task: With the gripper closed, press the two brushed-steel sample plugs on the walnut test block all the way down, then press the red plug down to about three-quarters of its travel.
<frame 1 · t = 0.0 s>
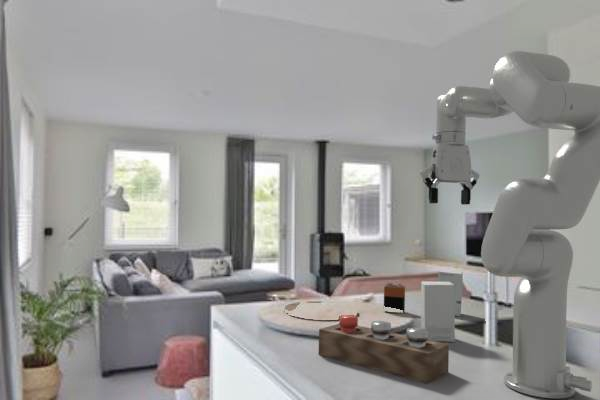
hand: (449, 203, 127), 37 cm above the counter, tool pointing down, fingers open, 9 cm apart
test block: (380, 362, 108), on the counter
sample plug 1: (416, 342, 102), point 6 cm above the counter, slide at 0.0 cm
skincare box: (437, 339, 131), on the counter
battery: (394, 312, 167), on the counter
trivet: (320, 314, 163), on the counter
red plug: (348, 327, 114), point 6 cm above the counter, slide at 0.0 cm
skincare box 2: (449, 314, 166), on the counter
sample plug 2: (380, 334, 108), point 6 cm above the counter, slide at 0.0 cm
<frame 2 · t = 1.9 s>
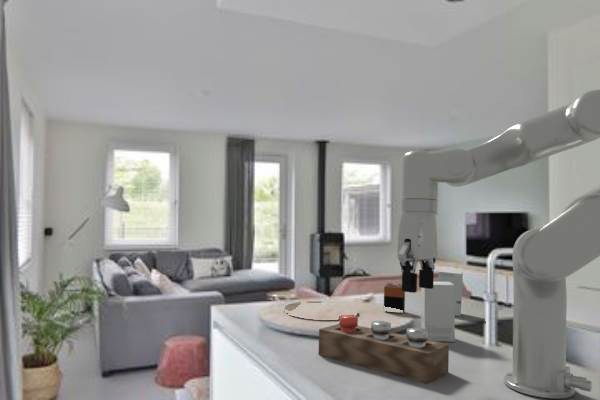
hand: (417, 289, 103), 18 cm above the counter, tool pointing down, fingers open, 7 cm apart
nothing on the counter moved.
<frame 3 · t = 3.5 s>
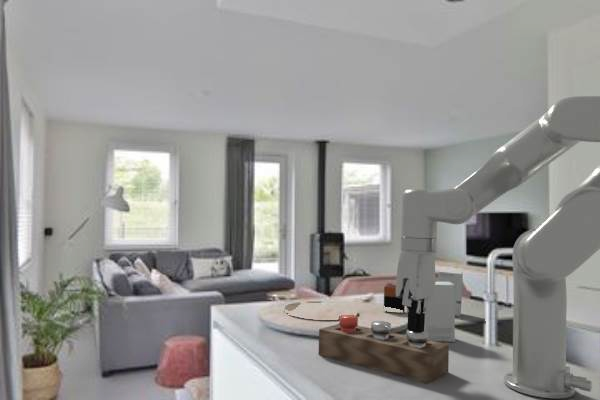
hand: (415, 330, 103), 9 cm above the counter, tool pointing down, fingers closed
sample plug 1: (416, 343, 102), point 6 cm above the counter, slide at 0.2 cm, touching gripper
everything else where it was.
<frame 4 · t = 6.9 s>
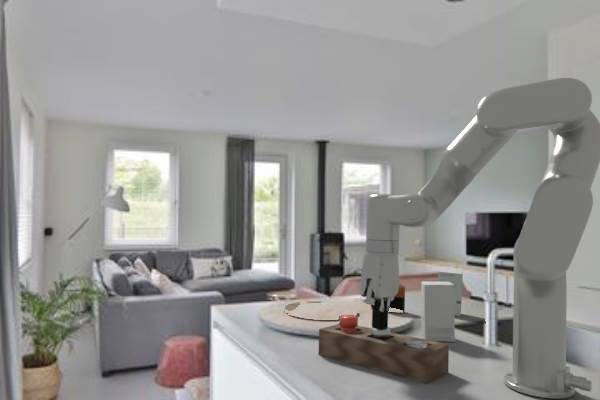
hand: (379, 327, 108), 8 cm above the counter, tool pointing down, fingers closed
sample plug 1: (416, 355, 102), point 4 cm above the counter, slide at 2.8 cm
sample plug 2: (380, 339, 108), point 5 cm above the counter, slide at 1.2 cm, touching gripper
everything else where it was.
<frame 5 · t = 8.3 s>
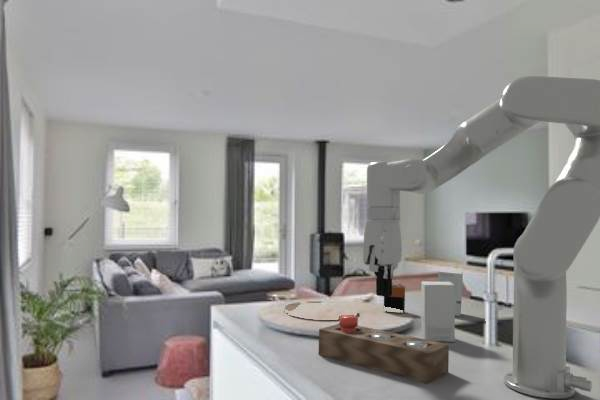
hand: (384, 295, 108), 15 cm above the counter, tool pointing down, fingers closed
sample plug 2: (380, 347, 108), point 4 cm above the counter, slide at 2.8 cm
everything else where it was.
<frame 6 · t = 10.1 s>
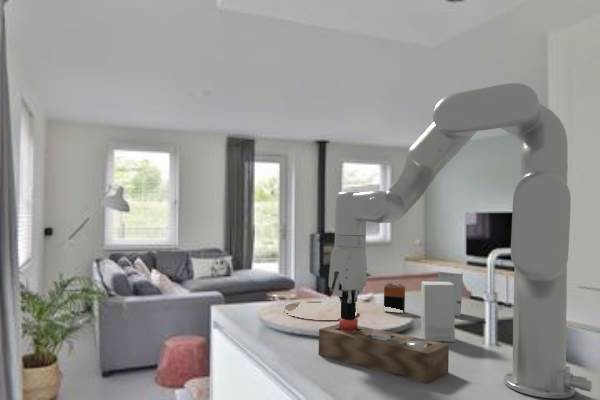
hand: (347, 318, 114), 9 cm above the counter, tool pointing down, fingers closed
red plug: (348, 330, 114), point 6 cm above the counter, slide at 0.5 cm, touching gripper
everything else where it was.
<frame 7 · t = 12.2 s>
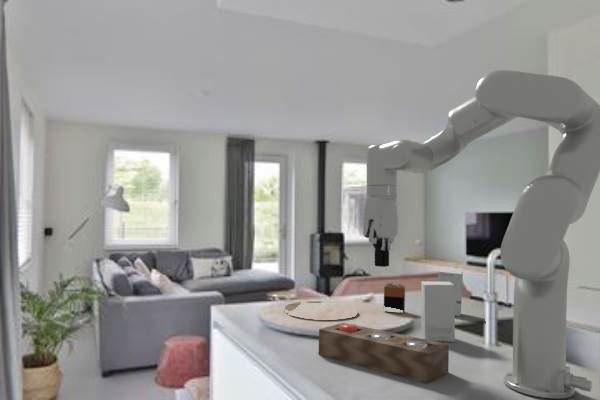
hand: (381, 266, 119), 21 cm above the counter, tool pointing down, fingers closed
red plug: (348, 336, 114), point 4 cm above the counter, slide at 2.1 cm
everything else where it was.
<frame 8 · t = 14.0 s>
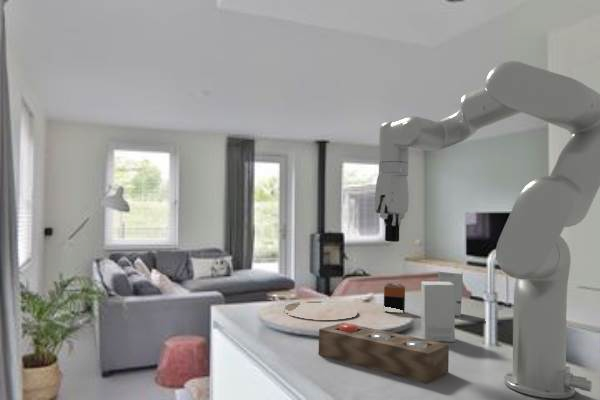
hand: (392, 241, 122), 27 cm above the counter, tool pointing down, fingers closed
nothing on the counter moved.
at the end: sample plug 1 slide at 2.8 cm; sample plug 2 slide at 2.8 cm; red plug slide at 2.1 cm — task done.
